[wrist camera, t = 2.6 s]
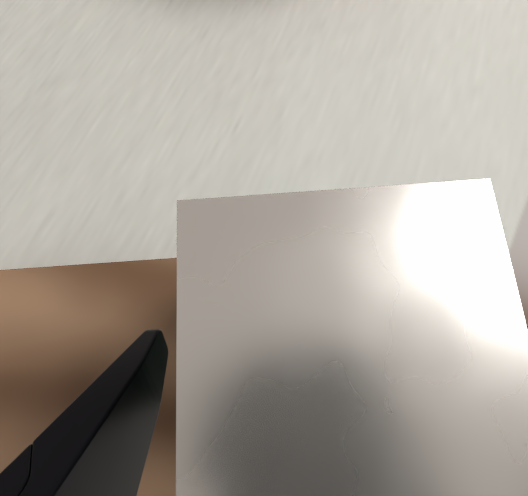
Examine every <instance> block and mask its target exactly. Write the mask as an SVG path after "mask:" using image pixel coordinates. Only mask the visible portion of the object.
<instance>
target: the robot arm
mask: <svg viewBox="0 0 528 496" xmlns="http://www.w3.org/2000/svg"><path fill="white" fill-rule="evenodd" d="M527 329H528V326H527ZM167 360H168V347H167V344H166V341H165V338H164V335H163V332H162V331H161V330H160V329H149V330H146V331H144V332H143V333H142V334H141V335H140V336H139V337H138V338H137V339H136V340H135V341H134V342H133V343H132V344H131V345H130V346H129V347H128V348H127V349H126V350H125V351H124V352H123V353H122V354H121V355H120V356H119V357H118V358H117V359H116V360H115V361H114V362H113V363H112V364H111V365H110V366H109V367H108V368H107V369H106V370H105V371H104V372H103V373H102V374H101V375H100V376H98V377H97V378H96V379H95V380H94V381H93V382H92V383H91V384H90V385H89V386H88V387H87V388H86V389H85V390H84V391H83V392H82V393H81V394H80V395H79V396H78V397H77V398H76V399H75V400H74V401H73V402H72V403H71V404H70V405H69V406H68V407H67V408H66V409H65V410H64V411H63V412H62V413H61V414H60V415H59V416H58V417H57V418H56V419H55V420H54V421H53V422H52V423H51V424H50V425H49V426H48V427H47V428H46V429H45V430H44V431H43V432H42V433H41V434H40V435H39V436H38V437H37V438H36V439H35V440H34V441H33V443H32V444H30V445H28V446H27V447H26V448H25V449H24V450H23V451H22V452H21V453H20V454H19V455H18V456H17V457H16V458H15V459H14V460H13V461H12V462H11V463H10V464H9V465H8V466H7V467H6V468H5V469H4V470H3V471H2V472H1V473H0V496H137V492H138V488H139V485H140V481H141V477H142V474H143V470H144V466H145V462H146V459H147V455H148V451H149V448H150V444H151V440H152V436H153V433H154V429H155V425H156V421H157V418H158V414H159V409H160V404H161V399H162V392H163V386H164V379H165V373H166V367H167Z"/></svg>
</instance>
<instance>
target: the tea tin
mask: <svg viewBox="0 0 528 496" xmlns="http://www.w3.org/2000/svg"><path fill="white" fill-rule="evenodd" d="M176 496H528V329H527V325H526V321H525V317H524V313H523V309H522V306H521V301H520V298H519V293H518V289H517V285H516V281H515V278H514V273H513V269H512V265H511V262H510V257H509V253H508V249H507V245H506V241H505V237H504V233H503V229H502V225H501V221H500V217H499V213H498V209H497V205H496V201H495V197H494V193H493V189H492V185H491V181H490V179H479V180H464V181H450V182H435V183H421V184H407V185H392V186H378V187H364V188H349V189H335V190H321V191H306V192H292V193H277V194H263V195H249V196H234V197H220V198H206V199H191V200H177V340H176Z"/></svg>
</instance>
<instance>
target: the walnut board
mask: <svg viewBox="0 0 528 496" xmlns="http://www.w3.org/2000/svg"><path fill="white" fill-rule="evenodd" d="M149 329H160V330H161V331H162V332H163V335H164V338H165V341H166V344H167V347H168V360H167V367H166V373H165V379H164V386H163V392H162V399H161V404H160V409H159V414H158V418H157V421H156V425H155V429H154V433H153V436H152V440H151V444H150V448H149V451H148V455H147V459H146V462H145V466H144V470H143V474H142V477H141V481H140V485H139V488H138V492H137V496H176V340H177V258H169V259H155V260H140V261H126V262H111V263H97V264H82V265H68V266H53V267H39V268H24V269H10V270H0V473H1V472H2V471H3V470H4V469H5V468H6V467H7V466H8V465H9V464H10V463H11V462H12V461H13V460H14V459H15V458H16V457H17V456H18V455H19V454H20V453H21V452H22V451H23V450H24V449H25V448H26V447H27V446H28V445H30V444H32V443H33V441H34V440H35V439H36V438H37V437H38V436H39V435H40V434H41V433H42V432H43V431H44V430H45V429H46V428H47V427H48V426H49V425H50V424H51V423H52V422H53V421H54V420H55V419H56V418H57V417H58V416H59V415H60V414H61V413H62V412H63V411H64V410H65V409H66V408H67V407H68V406H69V405H70V404H71V403H72V402H73V401H74V400H75V399H76V398H77V397H78V396H79V395H80V394H81V393H82V392H83V391H84V390H85V389H86V388H87V387H88V386H89V385H90V384H91V383H92V382H93V381H94V380H95V379H96V378H97V377H98V376H100V375H101V374H102V373H103V372H104V371H105V370H106V369H107V368H108V367H109V366H110V365H111V364H112V363H113V362H114V361H115V360H116V359H117V358H118V357H119V356H120V355H121V354H122V353H123V352H124V351H125V350H126V349H127V348H128V347H129V346H130V345H131V344H132V343H133V342H134V341H135V340H136V339H137V338H138V337H139V336H140V335H141V334H142V333H143V332H144V331H146V330H149Z"/></svg>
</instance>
